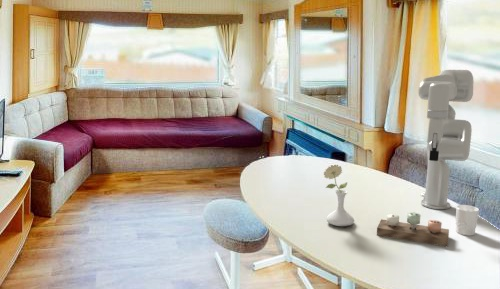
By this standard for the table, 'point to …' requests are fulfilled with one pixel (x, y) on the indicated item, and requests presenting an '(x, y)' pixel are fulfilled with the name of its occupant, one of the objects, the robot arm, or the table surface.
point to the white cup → (466, 219)
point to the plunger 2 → (413, 219)
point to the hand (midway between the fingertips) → (433, 160)
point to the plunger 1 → (392, 220)
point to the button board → (413, 233)
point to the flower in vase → (339, 215)
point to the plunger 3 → (434, 226)
